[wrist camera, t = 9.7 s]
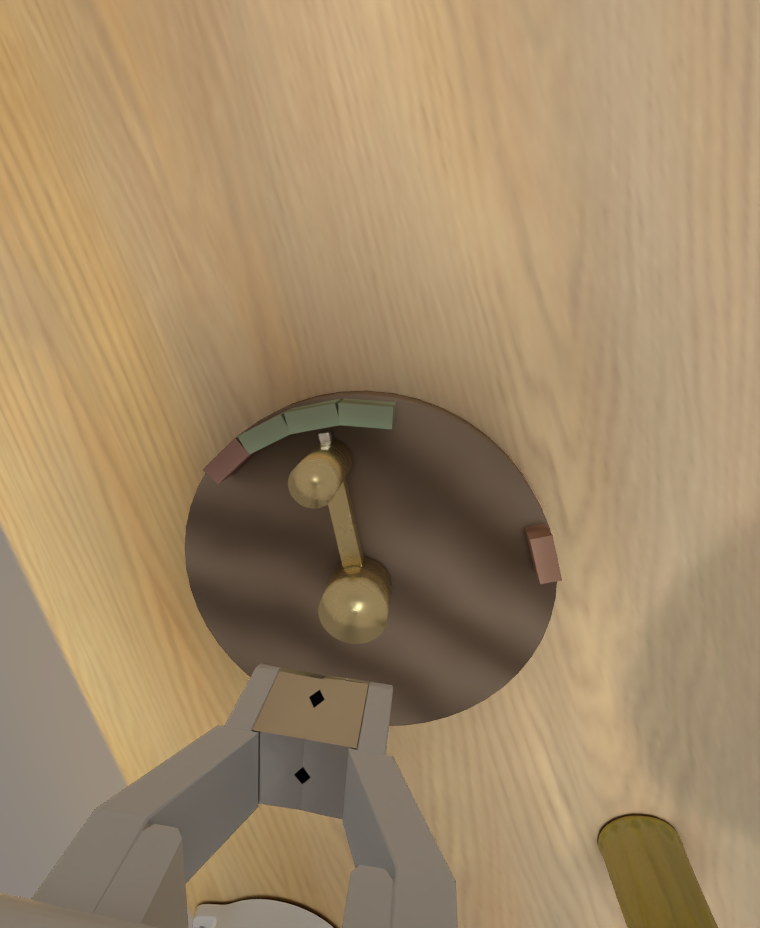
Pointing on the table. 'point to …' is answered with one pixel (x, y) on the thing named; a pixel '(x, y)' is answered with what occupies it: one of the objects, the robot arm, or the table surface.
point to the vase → (652, 875)
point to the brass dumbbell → (343, 547)
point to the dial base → (377, 552)
